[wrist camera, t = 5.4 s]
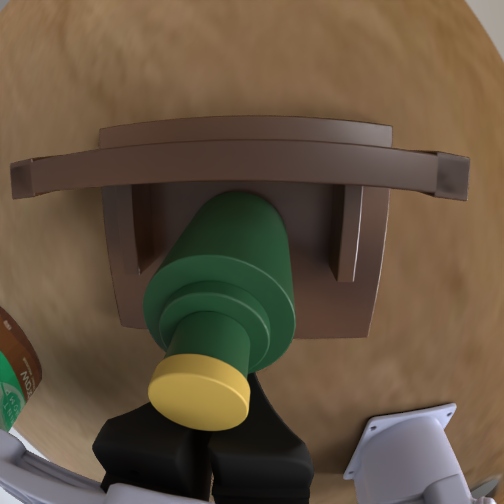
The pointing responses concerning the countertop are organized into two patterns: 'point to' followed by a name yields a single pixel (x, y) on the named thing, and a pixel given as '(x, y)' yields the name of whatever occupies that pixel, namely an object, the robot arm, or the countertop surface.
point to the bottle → (220, 311)
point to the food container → (15, 370)
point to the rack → (260, 184)
